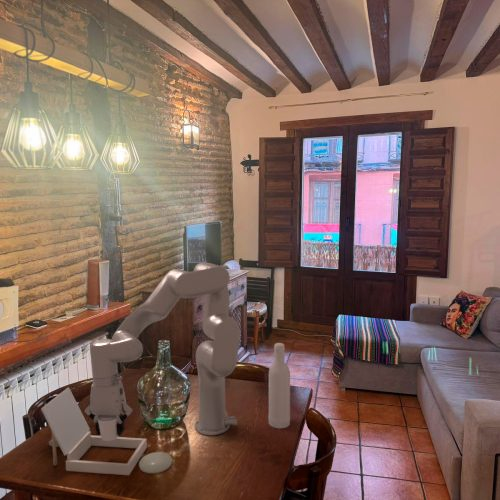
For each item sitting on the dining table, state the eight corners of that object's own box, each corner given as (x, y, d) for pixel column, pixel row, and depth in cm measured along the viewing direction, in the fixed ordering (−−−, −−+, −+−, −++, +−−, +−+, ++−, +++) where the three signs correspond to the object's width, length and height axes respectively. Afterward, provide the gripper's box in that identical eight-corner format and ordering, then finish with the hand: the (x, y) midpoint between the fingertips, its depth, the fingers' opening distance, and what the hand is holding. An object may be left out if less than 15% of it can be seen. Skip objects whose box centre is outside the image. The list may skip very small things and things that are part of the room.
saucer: (175, 455, 140) (175, 453, 140) (166, 474, 130) (166, 472, 130) (146, 453, 141) (145, 451, 141) (134, 472, 131) (134, 469, 131)
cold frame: (146, 447, 145) (144, 390, 142) (129, 475, 130) (126, 412, 128) (70, 442, 148) (67, 387, 146) (44, 469, 133) (40, 408, 131)
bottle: (279, 431, 154) (279, 349, 151) (264, 423, 160) (263, 344, 157) (294, 423, 159) (295, 344, 156) (279, 415, 165) (279, 339, 162)
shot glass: (126, 431, 140) (124, 411, 139) (113, 443, 134) (111, 422, 133) (108, 428, 142) (106, 408, 141) (94, 440, 136) (92, 419, 135)
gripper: (136, 374, 138) (140, 427, 141) (85, 374, 140) (90, 426, 143) (127, 384, 131) (131, 440, 133) (73, 384, 133) (78, 439, 135)
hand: (110, 432), depth 138 cm, fingers closed on shot glass, 6 cm apart
